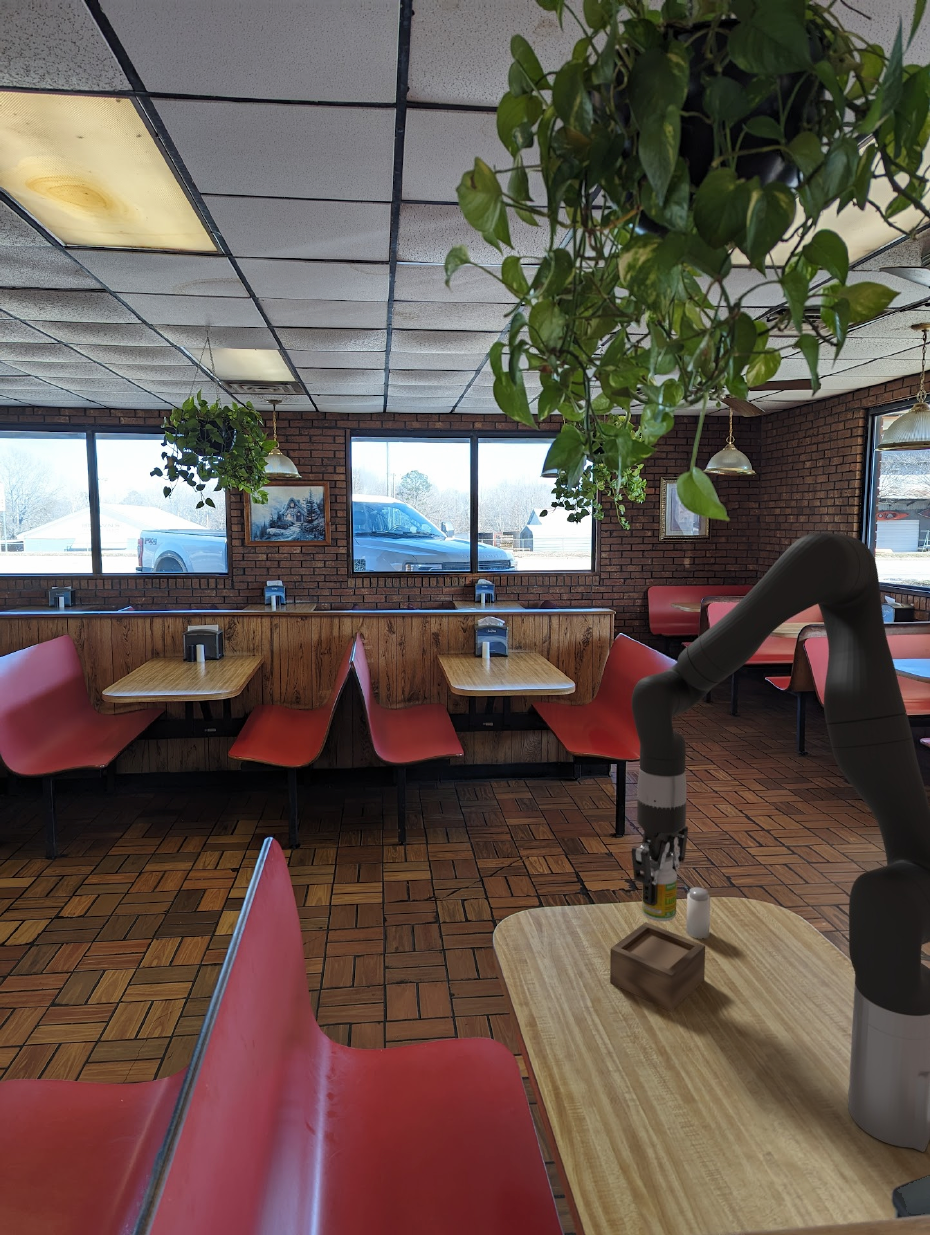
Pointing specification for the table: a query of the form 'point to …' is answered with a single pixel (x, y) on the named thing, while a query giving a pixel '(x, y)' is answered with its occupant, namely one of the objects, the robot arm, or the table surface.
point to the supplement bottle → (663, 894)
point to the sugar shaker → (698, 913)
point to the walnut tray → (657, 965)
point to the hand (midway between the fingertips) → (659, 896)
